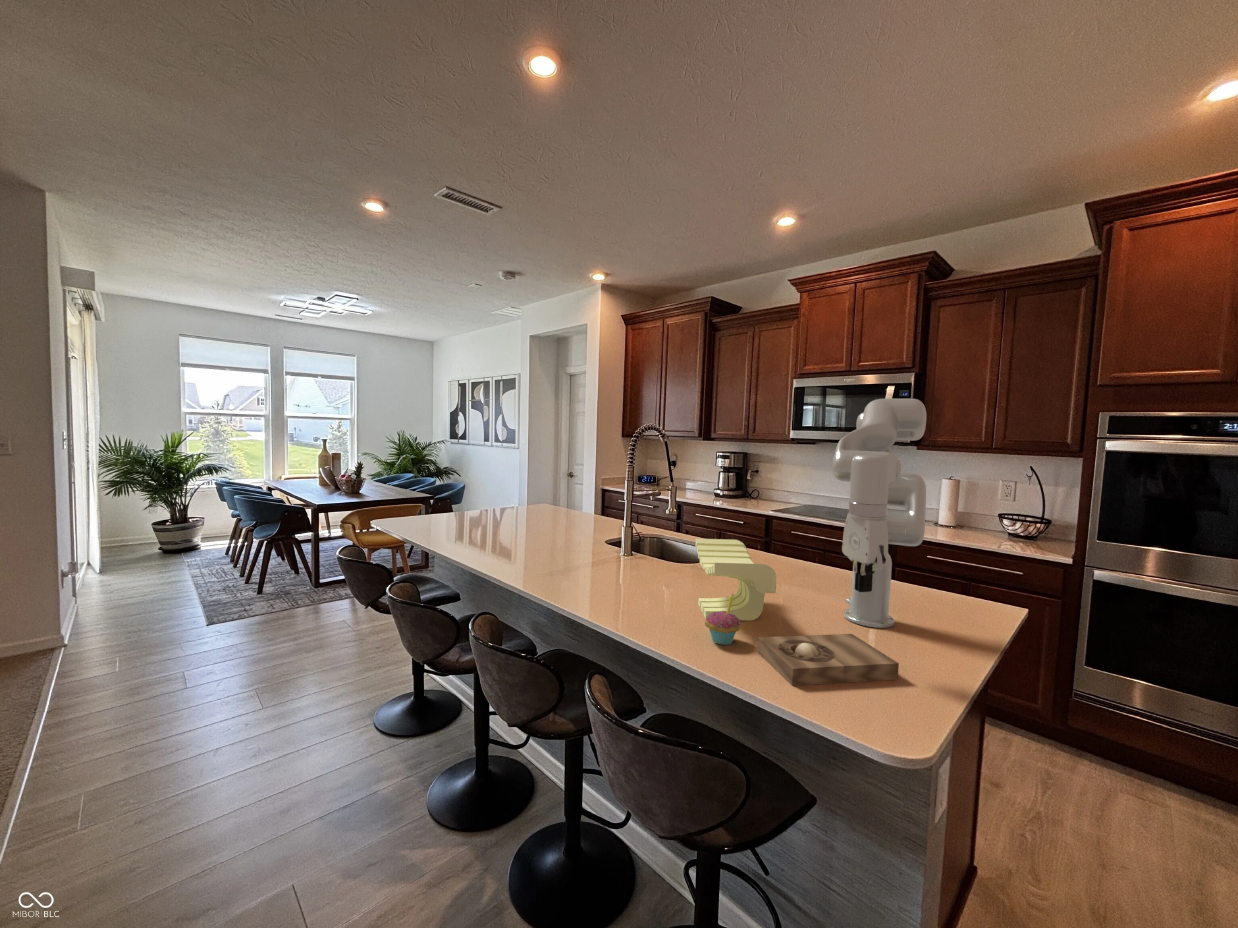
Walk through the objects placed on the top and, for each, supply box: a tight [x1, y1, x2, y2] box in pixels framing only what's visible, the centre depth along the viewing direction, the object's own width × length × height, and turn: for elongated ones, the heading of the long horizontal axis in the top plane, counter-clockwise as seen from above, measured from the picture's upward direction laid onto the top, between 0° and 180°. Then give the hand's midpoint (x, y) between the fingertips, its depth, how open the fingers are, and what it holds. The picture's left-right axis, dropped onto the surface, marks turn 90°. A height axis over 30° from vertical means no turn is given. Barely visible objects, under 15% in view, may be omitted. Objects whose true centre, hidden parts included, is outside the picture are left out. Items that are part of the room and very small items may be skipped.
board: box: [757, 633, 900, 686], centre depth 114 cm, size 24×16×4 cm, turn 100°
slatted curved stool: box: [695, 538, 777, 621], centre depth 146 cm, size 30×16×18 cm, turn 1°
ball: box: [795, 643, 819, 657], centre depth 113 cm, size 5×5×5 cm
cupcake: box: [704, 592, 742, 646], centre depth 125 cm, size 9×8×12 cm
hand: (863, 590), depth 115 cm, fingers closed
